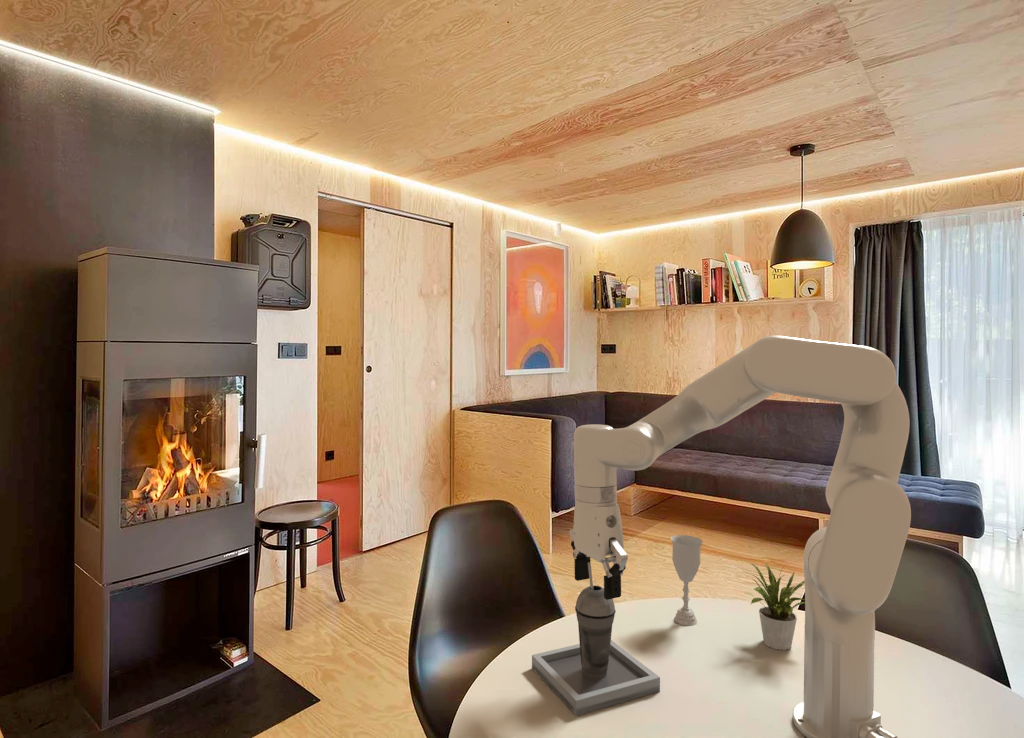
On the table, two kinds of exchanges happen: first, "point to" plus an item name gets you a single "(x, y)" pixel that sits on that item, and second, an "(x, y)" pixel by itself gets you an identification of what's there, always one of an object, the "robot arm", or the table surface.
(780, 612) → the house plant
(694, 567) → the chalice
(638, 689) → the tray
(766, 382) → the robot arm
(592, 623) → the beverage cup
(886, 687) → the table surface
